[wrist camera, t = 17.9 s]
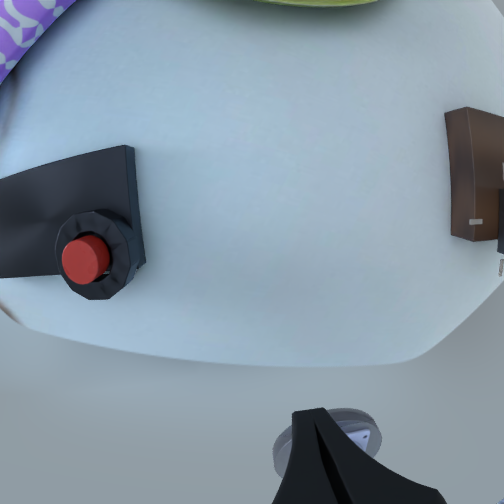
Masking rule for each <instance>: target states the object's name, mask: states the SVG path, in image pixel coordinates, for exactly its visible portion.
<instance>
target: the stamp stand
mask: <svg viewBox="0 0 504 504" xmlns="http://www.w3.org/2000/svg"><path fill="white" fill-rule="evenodd" d="M445 120H446V128H447V136H448V145H449V157H450V171H451V201H452V215H451V235H453V236H456V237H459V238H463V239H466V240H469V241H473V242H476V241H486V240H495V239H498V233H499V189H504V117H501V116H498V115H495V114H491V113H488V112H485V111H481V110H477V109H474V108H470V107H464V108H460V109H456V110H453V111H449V112H446V113H445ZM503 263H504V260H503V259H501V260H500V268H499V275H498V276H502V271H503Z"/></svg>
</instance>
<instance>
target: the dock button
mask: <svg viewBox="0 0 504 504" xmlns="http://www.w3.org/2000/svg"><path fill="white" fill-rule="evenodd" d="M109 263H110V254H109V250H108V248H107V246H106V244H105V243H104V242H103V241H102V240H101V239H100V238H98V237H96V236H92V235H88V236H85V237H82V238H79V239H76V240H74V241H71V242H70V243H68V244H67V245H66V247H65V249H64V251H63V254H62V264H63V268H64V271H65V273H66V274H67V276H68V277H69V278H70V279H71V280H72V281H74V282H75V283H78V284H88V283H90V282H92V281H93V280H95V279H96V278H98V277H99V276H101V275H102V274H103V273H105V272H106V270H107V268H108V266H109Z"/></svg>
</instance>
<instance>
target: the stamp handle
mask: <svg viewBox="0 0 504 504" xmlns="http://www.w3.org/2000/svg"><path fill="white" fill-rule="evenodd" d="M497 252H499V253H502V254H504V189H499V233H498V248H497Z"/></svg>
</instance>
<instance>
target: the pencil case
mask: <svg viewBox="0 0 504 504" xmlns="http://www.w3.org/2000/svg"><path fill="white" fill-rule="evenodd" d="M75 1H76V0H0V84H1V83H2V81H3V80H4V79H5V77H6V76H7V75H8V73H9V72H10V71H11V70H12V69H13V67H14V66H15V65H16V64H17V62H18V61H19V60H20V59H21V57H22V56H23V55H24V54H25V53H26V51H27V50H28V49H29V48H30V47H31V46H32V45H33V44H34V43H35V42H36V40H37V39H38V38H39V37H40V36H41V35H42V34H43V33H44V32H45V30H46V29H47V28H48V27H49V26H50V25H51V24H52V23H53V22H54V21H55V20H56V19H57V18H58V17H59V16H60V15H61V14H62V13H63V12H64V11H65V10H66V9H67V8H68V7H69V6H71V5H72V4H73V3H74V2H75Z"/></svg>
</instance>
